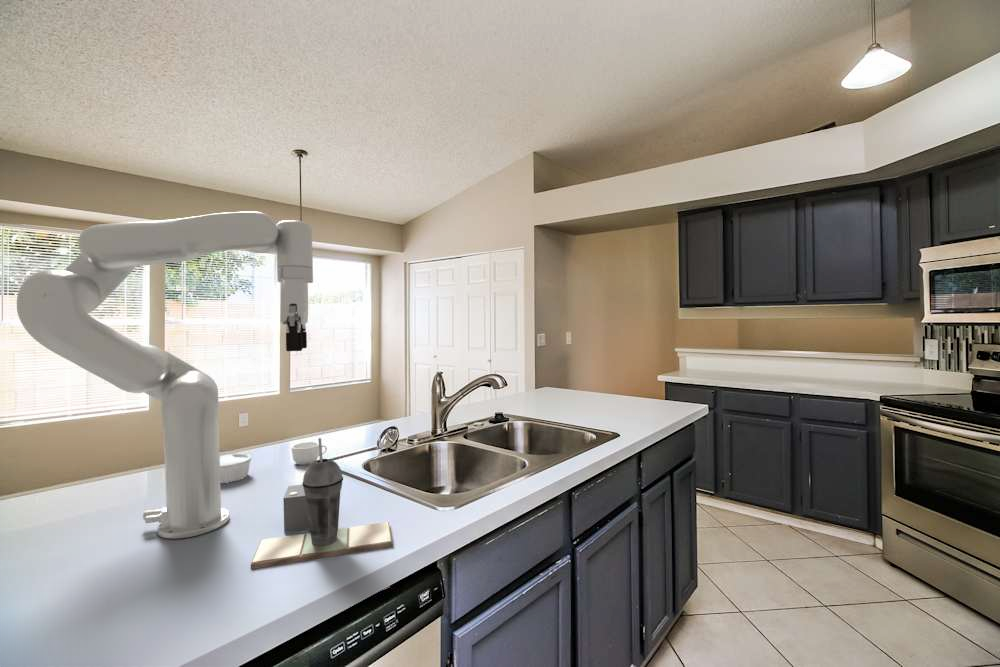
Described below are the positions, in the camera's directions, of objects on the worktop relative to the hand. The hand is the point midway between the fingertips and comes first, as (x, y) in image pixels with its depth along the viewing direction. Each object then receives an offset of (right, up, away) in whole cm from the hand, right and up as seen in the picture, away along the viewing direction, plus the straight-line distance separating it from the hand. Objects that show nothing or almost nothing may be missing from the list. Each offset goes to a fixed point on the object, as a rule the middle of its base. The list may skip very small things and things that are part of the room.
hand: (297, 349), depth 105 cm
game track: (+14, -37, -19) cm, 44 cm away
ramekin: (-27, -36, +19) cm, 49 cm away
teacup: (-11, -36, +32) cm, 49 cm away
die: (+5, -37, -9) cm, 38 cm away
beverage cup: (+14, -36, -19) cm, 43 cm away
